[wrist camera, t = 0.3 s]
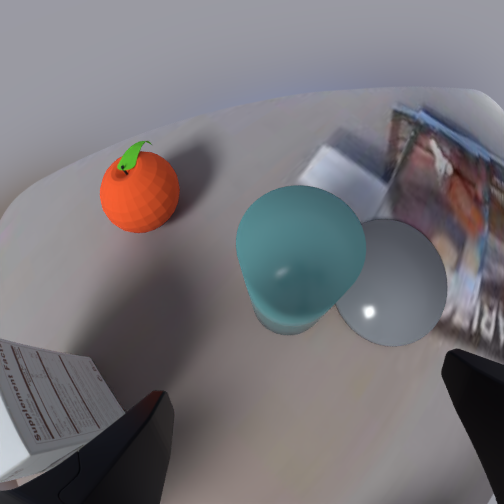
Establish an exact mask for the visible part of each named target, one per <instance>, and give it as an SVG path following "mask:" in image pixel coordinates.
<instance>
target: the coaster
mask: <svg viewBox="0 0 504 504" xmlns="http://www.w3.org/2000/svg"><path fill="white" fill-rule="evenodd" d="M361 226H362V228H363V231H364V234H365V240H366V257H365V262H364V266H363V268H362V271H361V273H360V275H359V276H358V278H357V280H356V281H355V282H354V284H353V285H352V286H351V287H350V288H349V289H348V290H347V292H346V293H345V294H344V295H343V296H342V297H341V298H340V299H339V300H338V301H337V302H336V303H335V305H336V307H337V309H338V311H339V313H340V315H341V316H342V318H343V319H344V321H345V322H346V323H347V324H348V326H349V327H350V328H351V329H352V330H353V331H354V332H356V333H357V334H358V335H360V336H361V337H363V338H364V339H366V340H368V341H370V342H372V343H375V344H378V345H383V346H402V345H407V344H410V343H413V342H415V341H417V340H419V339H421V338H422V337H424V336H425V335H427V334H428V333H429V332H430V331H431V330H432V329H433V327H434V326H435V325H436V324H437V322H438V320H439V319H440V317H441V315H442V312H443V310H444V307H445V303H446V298H447V278H446V272H445V269H444V265H443V263H442V260H441V258H440V256H439V254H438V252H437V251H436V249H435V248H434V246H433V245H432V243H431V242H430V241H429V240H428V239H427V238H426V237H425V236H424V235H423V234H422V233H420V232H419V231H418V230H416V229H415V228H413V227H411V226H409V225H407V224H405V223H402V222H399V221H395V220H389V219H378V220H372V221H368V222H365V223H363V224H361Z"/></svg>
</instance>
